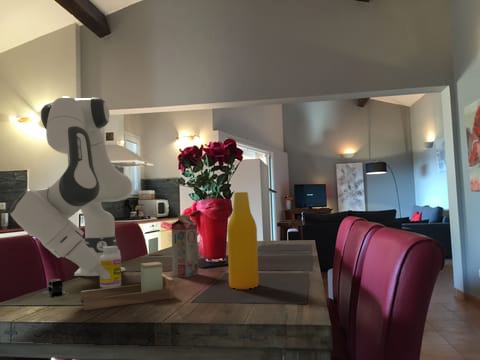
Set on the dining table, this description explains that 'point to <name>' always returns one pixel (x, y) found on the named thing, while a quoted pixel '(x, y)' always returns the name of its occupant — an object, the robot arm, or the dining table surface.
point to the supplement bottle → (111, 267)
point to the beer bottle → (242, 245)
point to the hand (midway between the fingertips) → (105, 274)
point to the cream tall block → (151, 276)
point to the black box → (54, 288)
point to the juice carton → (184, 247)
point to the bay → (125, 295)
